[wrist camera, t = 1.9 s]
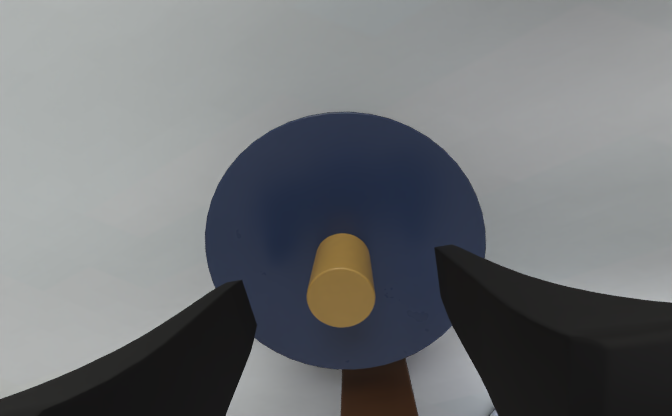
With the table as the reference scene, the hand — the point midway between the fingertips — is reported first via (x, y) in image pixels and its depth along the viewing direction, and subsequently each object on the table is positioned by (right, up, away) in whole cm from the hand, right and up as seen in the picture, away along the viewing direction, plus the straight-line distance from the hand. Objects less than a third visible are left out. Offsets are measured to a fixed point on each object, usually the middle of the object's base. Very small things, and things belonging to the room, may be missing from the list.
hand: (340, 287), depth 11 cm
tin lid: (0, +1, +3) cm, 3 cm away
